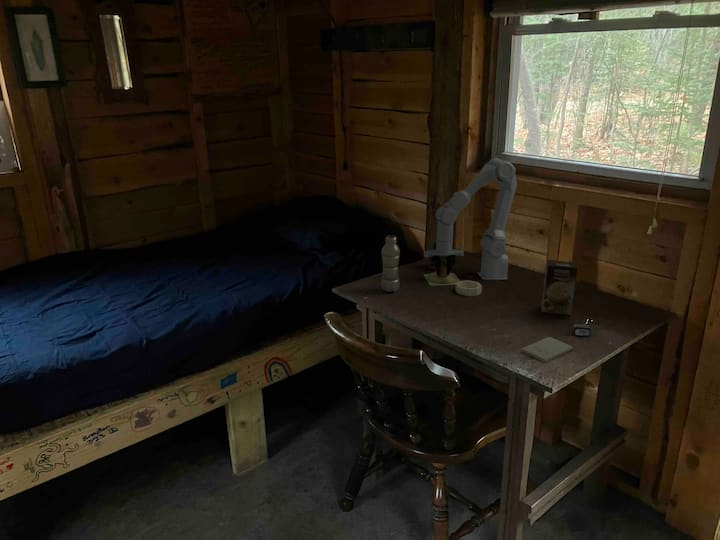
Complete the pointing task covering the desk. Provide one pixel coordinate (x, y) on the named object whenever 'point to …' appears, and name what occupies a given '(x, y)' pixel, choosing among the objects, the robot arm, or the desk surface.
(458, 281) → the mat
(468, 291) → the bowl
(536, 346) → the external hard drive
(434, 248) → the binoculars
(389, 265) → the plastic bottle
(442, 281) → the lid
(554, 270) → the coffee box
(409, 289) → the desk surface
